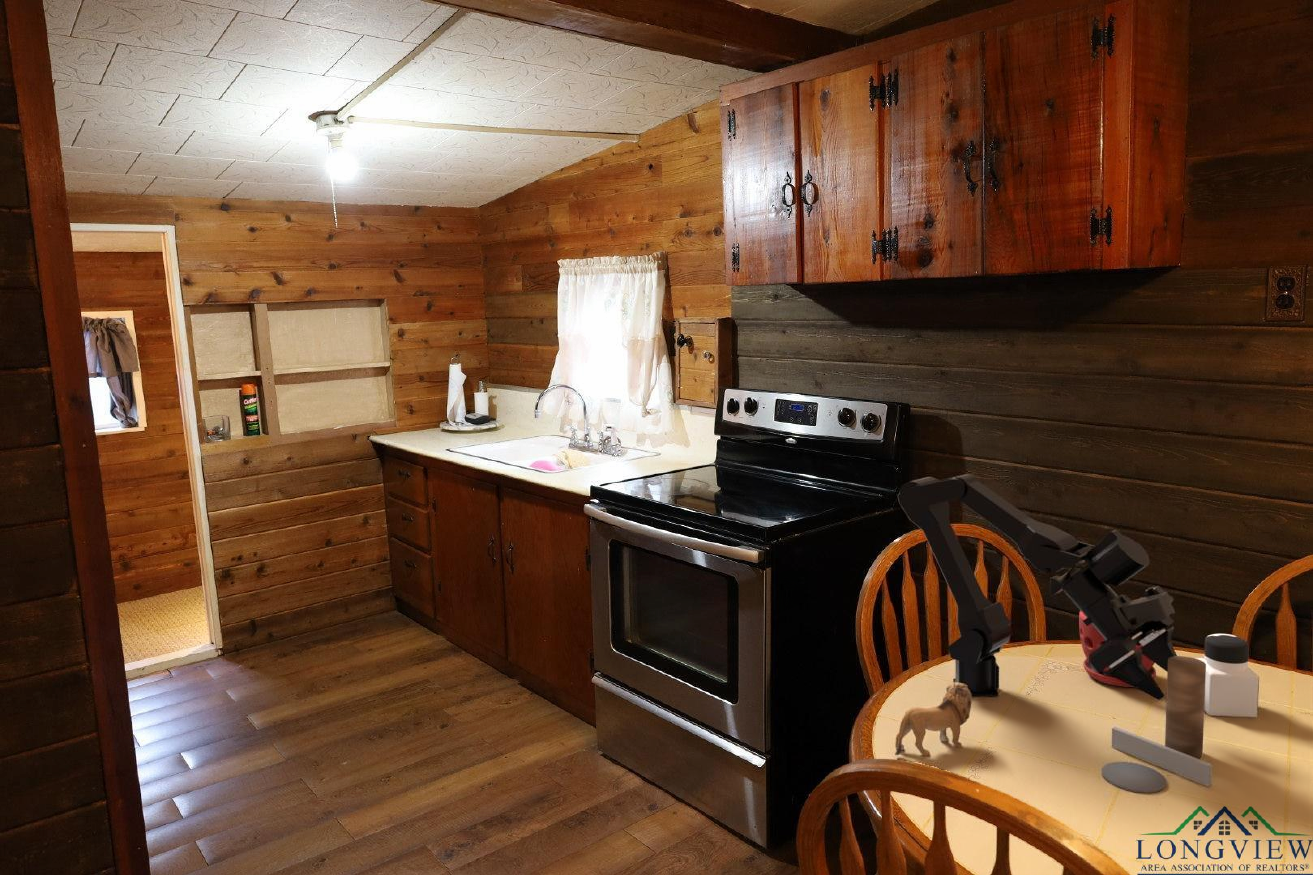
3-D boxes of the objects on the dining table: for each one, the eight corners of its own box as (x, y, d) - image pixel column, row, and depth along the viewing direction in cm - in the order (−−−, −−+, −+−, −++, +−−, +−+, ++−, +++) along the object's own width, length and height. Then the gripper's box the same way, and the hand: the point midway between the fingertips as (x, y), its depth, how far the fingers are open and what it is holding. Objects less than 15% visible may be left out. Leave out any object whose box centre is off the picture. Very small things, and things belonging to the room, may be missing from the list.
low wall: (1111, 746, 134) (1112, 728, 133) (1114, 745, 134) (1115, 726, 134) (1207, 786, 122) (1208, 765, 121) (1211, 784, 122) (1211, 764, 122)
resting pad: (1114, 791, 121) (1114, 789, 121) (1093, 763, 129) (1093, 760, 129) (1176, 793, 120) (1176, 791, 120) (1151, 764, 128) (1151, 762, 128)
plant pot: (1068, 663, 166) (1069, 601, 164) (1142, 664, 164) (1144, 601, 162) (1092, 692, 153) (1093, 625, 151) (1173, 693, 151) (1175, 626, 150)
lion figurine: (955, 728, 142) (955, 674, 141) (981, 741, 137) (981, 686, 136) (884, 751, 135) (883, 695, 134) (908, 766, 130) (908, 708, 129)
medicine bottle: (1258, 718, 141) (1261, 646, 139) (1208, 716, 142) (1211, 644, 141) (1238, 699, 148) (1241, 630, 146) (1191, 697, 149) (1194, 629, 148)
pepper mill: (1173, 760, 129) (1176, 668, 127) (1159, 744, 134) (1162, 655, 132) (1208, 760, 128) (1212, 668, 127) (1193, 745, 133) (1196, 656, 131)
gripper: (1111, 586, 127) (1195, 680, 120) (1160, 560, 139) (1239, 644, 132) (1056, 627, 134) (1132, 718, 127) (1108, 598, 146) (1180, 680, 139)
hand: (1173, 688), depth 131 cm, fingers open, 9 cm apart
